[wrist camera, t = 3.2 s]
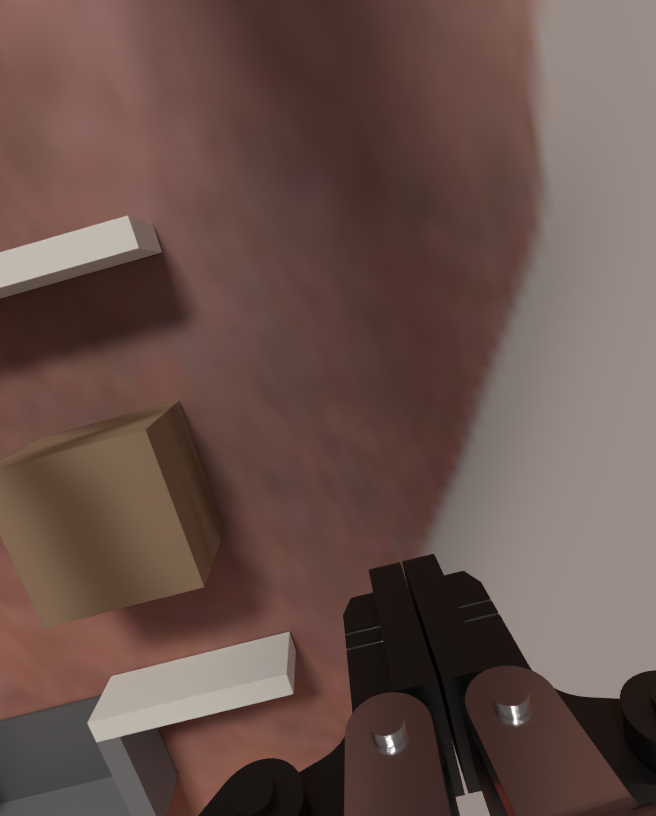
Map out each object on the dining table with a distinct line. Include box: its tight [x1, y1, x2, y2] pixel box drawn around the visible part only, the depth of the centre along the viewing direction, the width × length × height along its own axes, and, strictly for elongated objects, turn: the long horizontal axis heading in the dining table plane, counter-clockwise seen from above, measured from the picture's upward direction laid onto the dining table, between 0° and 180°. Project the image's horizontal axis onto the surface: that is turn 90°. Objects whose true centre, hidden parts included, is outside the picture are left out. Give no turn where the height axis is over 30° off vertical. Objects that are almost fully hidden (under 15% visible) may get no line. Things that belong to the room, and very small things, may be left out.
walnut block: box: [0, 401, 225, 628], centre depth 23 cm, size 7×7×5 cm
